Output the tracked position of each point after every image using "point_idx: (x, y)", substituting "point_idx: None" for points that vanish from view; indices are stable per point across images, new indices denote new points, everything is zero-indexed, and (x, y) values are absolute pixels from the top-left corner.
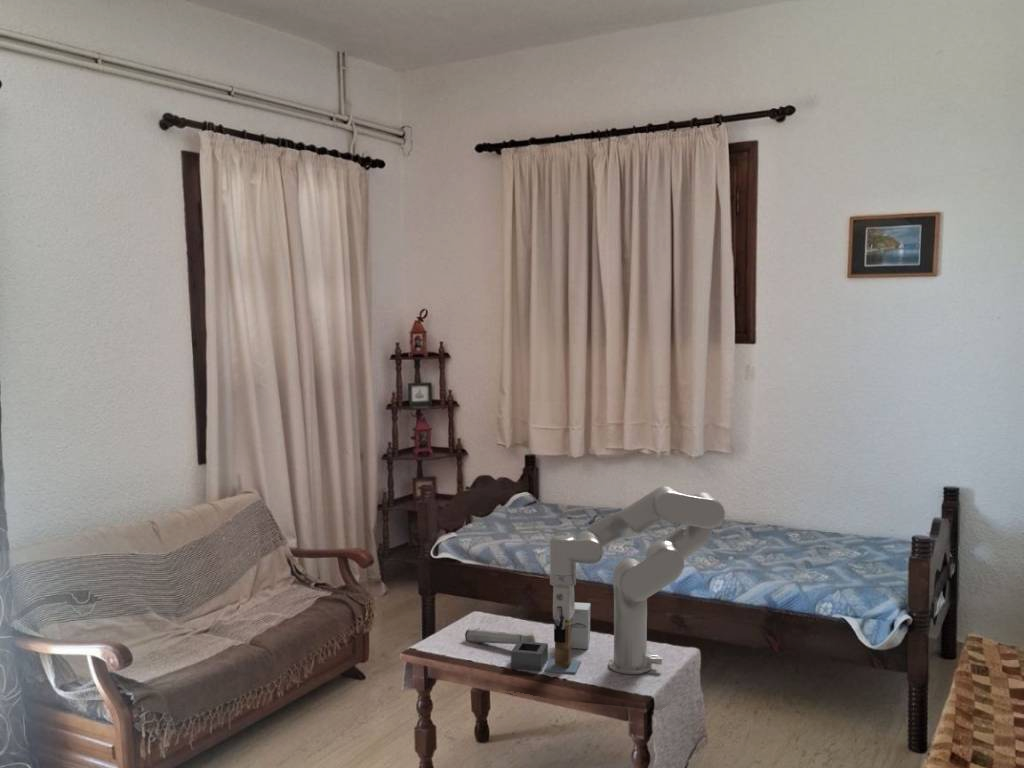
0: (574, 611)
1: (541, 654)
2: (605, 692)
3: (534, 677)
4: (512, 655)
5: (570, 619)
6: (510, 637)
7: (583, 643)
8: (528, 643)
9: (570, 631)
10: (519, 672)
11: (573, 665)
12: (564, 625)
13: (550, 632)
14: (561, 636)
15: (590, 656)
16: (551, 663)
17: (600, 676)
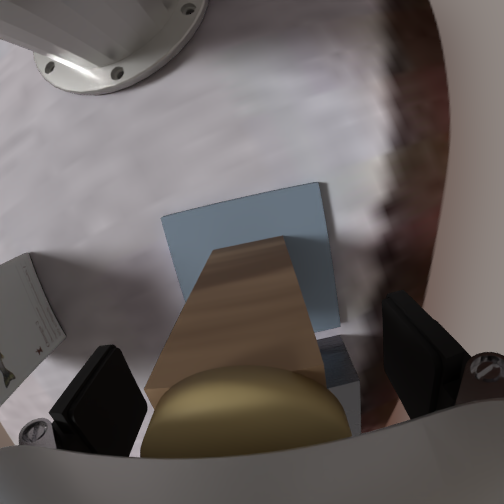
0: (18, 455)
1: (353, 379)
2: (424, 17)
3: None
4: None
5: (427, 416)
6: None
7: (22, 277)
8: None
9: (198, 336)
10: (374, 389)
11: (236, 226)
12: (467, 391)
13: (16, 402)
14: (448, 334)
15: (76, 209)
16: None
17: (283, 64)
